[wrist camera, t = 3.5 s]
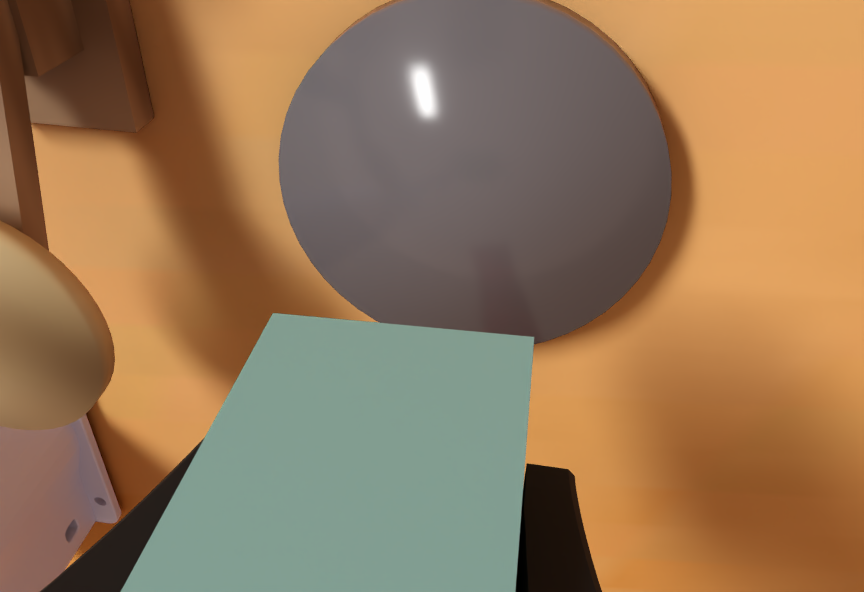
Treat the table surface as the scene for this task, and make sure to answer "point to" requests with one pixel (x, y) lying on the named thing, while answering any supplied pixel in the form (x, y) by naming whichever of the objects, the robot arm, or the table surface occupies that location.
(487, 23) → the dish
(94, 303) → the balance
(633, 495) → the table surface
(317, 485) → the block
